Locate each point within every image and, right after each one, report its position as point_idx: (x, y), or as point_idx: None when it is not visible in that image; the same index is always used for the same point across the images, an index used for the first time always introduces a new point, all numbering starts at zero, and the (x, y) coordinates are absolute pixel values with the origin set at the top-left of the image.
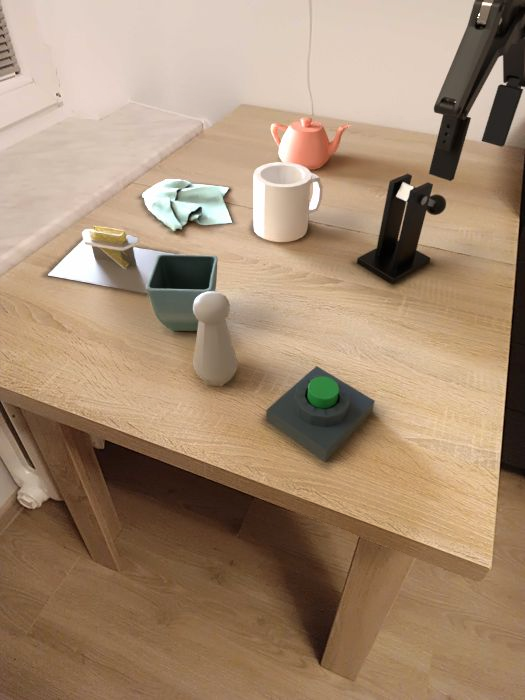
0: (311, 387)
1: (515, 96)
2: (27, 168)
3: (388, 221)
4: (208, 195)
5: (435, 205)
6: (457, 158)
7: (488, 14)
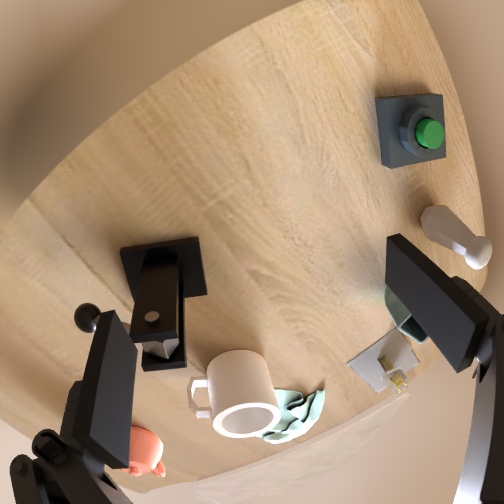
0: (440, 142)
1: (98, 422)
2: (341, 458)
3: (179, 317)
4: None
5: (95, 314)
6: (427, 259)
7: None
